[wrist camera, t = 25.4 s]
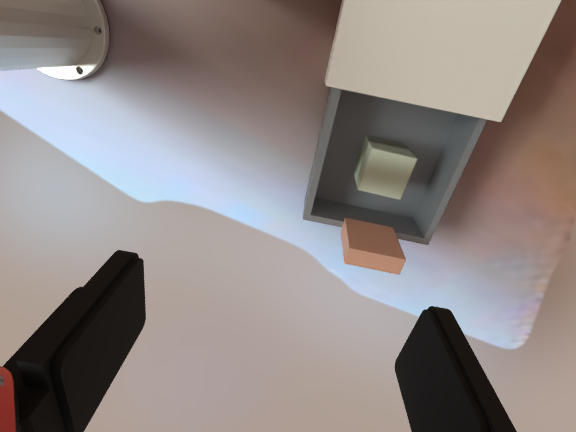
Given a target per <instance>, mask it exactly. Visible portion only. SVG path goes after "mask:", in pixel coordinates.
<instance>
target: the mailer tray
mask: <svg viewBox="0 0 576 432" xmlns="http://www.w3.org/2000/svg"><path fill="white" fill-rule="evenodd" d="M486 122H487V119H483V118H478V117H473V116H468V115H463V114H459V113H454V112H449V111H444V110H439V109H434V108H430V107H425V106H420V105H415V104H410V103H406V102H401V101H396V100H391V99H386V98H382V97H377V96H372V95H367V94H362V93H358V92H353V91H348V90H343V89H338V88H334V87H331V89H330V93H329V97H328V102H327V106H326V110H325V115H324V119H323V123H322V127H321V132H320V136H319V140H318V145H317V149H316V153H315V158H314V162H313V166H312V171H311V175H310V179H309V184H308V188H307V192H306V197H305V203H304V213H303V219H304V220H309V221H314V222H319V223H324V224H329V225H334V226H338V227H342V229H341V237H342V246H343V255H344V263H345V264H350V265H354V266H359V267H364V268H369V269H374V270H379V271H384V272H389V273H394V274H398V275H399V274H400V272H401V270H402V268H403V265H404V263H405V261H406V259H405V256H404V254H403V251H402V249H401V246H400V244H399V241H398V239H402V240H407V241H411V242H416V243H421V244H426V245H428V244H429V242H430V240H431V238H432V236H433V233H434V231H435V229H436V227H437V225H438V223H439V221H440V219H441V217H442V214H443V212H444V210H445V208H446V206H447V204H448V202H449V200H450V198H451V195H452V193H453V191H454V189H455V187H456V185H457V183H458V181H459V179H460V176H461V174H462V172H463V170H464V168H465V166H466V164H467V162H468V160H469V157H470V155H471V153H472V151H473V149H474V147H475V145H476V143H477V141H478V138H479V136H480V134H481V132H482V130H483V128H484V126H485V124H486ZM365 135H367V136H372V137H376V138H380V139H384V140H388V141H392V142H397V143H401V144H405V146H406V147H407V148H408V149H409V150H410V151H411V152H412V154H413V155H414V156H415V157H416V158H417V161H416V163H415V166H414V168H413V170H412V173H411V175H410V178H409V180H408V182H407V185H406V187H405V189H404V192H403V194H402V196H401V199H400V200H399V199H394V198H390V197H386V196H382V195H377V194H373V193H369V192H365V191H360V190H358V188H357V184H356V181H355V177H354V173H353V171H354V168H355V165H356V162H357V159H358V156H359V153H360V150H361V147H362V144H363V141H364V138H365Z"/></svg>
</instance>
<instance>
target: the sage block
mask: <svg viewBox="0 0 576 432" xmlns="http://www.w3.org/2000/svg"><path fill="white" fill-rule="evenodd" d="M416 161H417V158H416V157H415V156H414V155H413V154H412V152H411V151H410V150H409V149H408V148H407V147H406V146H405V144H401V143H397V142H392V141H388V140H384V139H380V138H376V137H372V136H367V135H365V138H364V141H363V144H362V147H361V150H360V153H359V156H358V159H357V162H356V165H355V168H354V171H353V173H354V177H355V181H356V184H357V188H358V190H360V191H365V192H369V193H373V194H377V195H382V196H386V197H390V198H394V199H399V200H400V199H401V196H402V194H403V192H404V189H405V187H406V185H407V182H408V180H409V178H410V175H411V173H412V170H413V168H414V166H415V163H416Z"/></svg>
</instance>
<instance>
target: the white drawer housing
mask: <svg viewBox="0 0 576 432" xmlns="http://www.w3.org/2000/svg"><path fill="white" fill-rule="evenodd" d="M560 2H561V0H342V3H341V8H340V12H339V17H338V22H337V26H336V31H335V35H334V40H333V44H332V49H331V53H330V58H329V62H328V67H327V71H326V76H325V85H326V86H329V87H334V88H338V89H343V90H348V91H353V92H358V93H362V94H367V95H372V96H377V97H382V98H386V99H391V100H396V101H401V102H406V103H410V104H415V105H420V106H425V107H430V108H434V109H439V110H444V111H449V112H454V113H459V114H463V115H468V116H473V117H478V118H483V119H487V120H492V121H497V122H501V121H502V119H503V117H504V115H505V113H506V111H507V109H508V107H509V105H510V103H511V101H512V99H513V97H514V95H515V93H516V91H517V89H518V87H519V85H520V83H521V81H522V79H523V77H524V75H525V73H526V71H527V69H528V67H529V65H530V63H531V61H532V59H533V57H534V55H535V53H536V51H537V49H538V46H539V44H540V42H541V40H542V38H543V36H544V34H545V32H546V30H547V28H548V26H549V24H550V22H551V20H552V18H553V16H554V14H555V12H556V10H557V8H558V6H559V4H560Z"/></svg>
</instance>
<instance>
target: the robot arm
mask: <svg viewBox="0 0 576 432" xmlns="http://www.w3.org/2000/svg"><path fill="white" fill-rule="evenodd" d="M101 31H102V32H101ZM108 47H109V26H108V21H107V17H106V14H105V11H104V8H103V5H102V3H101V1H100V0H0V71H6V70H21V69H38V70H39V71H41V72H43V73H45V74H47V75H49V76H51V77H54V78H57V79H62V80H78V79H82V78H86V77H88V76H90V75H92V74H94V73H95V72H96V71H97V70H98V69H99V68H100V67H101V65H102V64H103V62H104V61H105V58H106V55H107V53H108ZM144 289H145V288H144V266H143V260H142V259H140V258H139V257H138V254H137V253H133V252H127V251H122V250H117V251H116V252H115V253H114V254H113V255H112V256H111V257H110V258H109V259H108V260H107V262H106V263H105V264H104V265H103V266H102V267H101V268H100V269H99V270H98V272H96V274H95V275H94V276H93V277H92V278H91V279H90V280H89V281H88V282H87V283H86V285H85V286H84V287H79V288H77V289H75V290H74V291H73V292H72V293H71V294H70V295H69V297H67V298H66V299H65V301H64V302H63V303H62V304H61V305H60V306H59V307H58V308H57V309H56V310H55V311H54V312H53V313H52V314H51V315H50V316H49V318H48V319H47V320H46V321H45V322H44V323H43V324H42V325H41V326H40V327H39V328H38V330H36V331H35V332H34V334H33V335H32V336H31V337H30V338H29V339H28V340H27V341H26V342H25V343H24V344H23V345H22V346H21V348H19V350H18V351H17V352H16V353H15V354H14V355H13V356H12V357H11V358H10V359H9V360H8V361H7V362H6V363H5V365H4V366H3V367H1V366H0V432H84V430H85V428H86V427H87V425H88V423H89V422H90V420H91V418H92V416H93V414H94V413H95V411H96V409H97V408H98V406H99V404H100V402H101V401H102V399H103V397H104V395H105V394H106V392H107V390H108V388H109V387H110V384H111V383H112V381H113V379H114V378H115V376H116V374H117V372H118V371H119V369H120V367H121V366H122V364H123V362H124V360H125V359H126V357H127V355H128V353H129V352H130V350H131V348H132V346H133V345H134V343H135V341H136V339H137V337H138V336H139V334H140V332H141V330H142V329H143V326H144V324H145V319H146V313H145V291H144ZM395 372H396V376H397V379H398V383H399V386H400V390H401V394H402V398H403V401H404V405H405V409H406V412H407V416H408V419H409V423H410V427H411V431H412V432H517V431H516V430H515V428H514V426H513V424H512V422H511V420H510V419H509V417H508V415H507V413H506V411H505V409H504V407H503V406H502V404H501V402H500V400H499V398H498V397H497V395H496V393H495V391H494V389H493V387H492V385H491V384H490V382H489V380H488V379H487V376H486V374H485V373H484V371H483V369H482V367H481V365H480V364H479V362H478V360H477V358H476V356H475V355H474V352H473V351H472V349H471V347H470V345H469V343H468V341H467V339H466V338H465V336H464V334H463V332H462V330H461V328H460V326H459V325H458V323H457V321H456V319H455V317H454V315H453V314H452V312H451V311H450V310H449V309H445V308H439V307H434V306H430V307H429V308H428V309H427V310H423V312H422V313H421V315H420V317H419V319H418V321H417V322H416V324H415V326H414V328H413V330H412V332H411V333H410V335H409V337H408V339H407V341H406V343H405V345H404V346H403V348H402V350H401V352H400V354H399V356H398V357H397V359H396V362H395Z"/></svg>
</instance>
